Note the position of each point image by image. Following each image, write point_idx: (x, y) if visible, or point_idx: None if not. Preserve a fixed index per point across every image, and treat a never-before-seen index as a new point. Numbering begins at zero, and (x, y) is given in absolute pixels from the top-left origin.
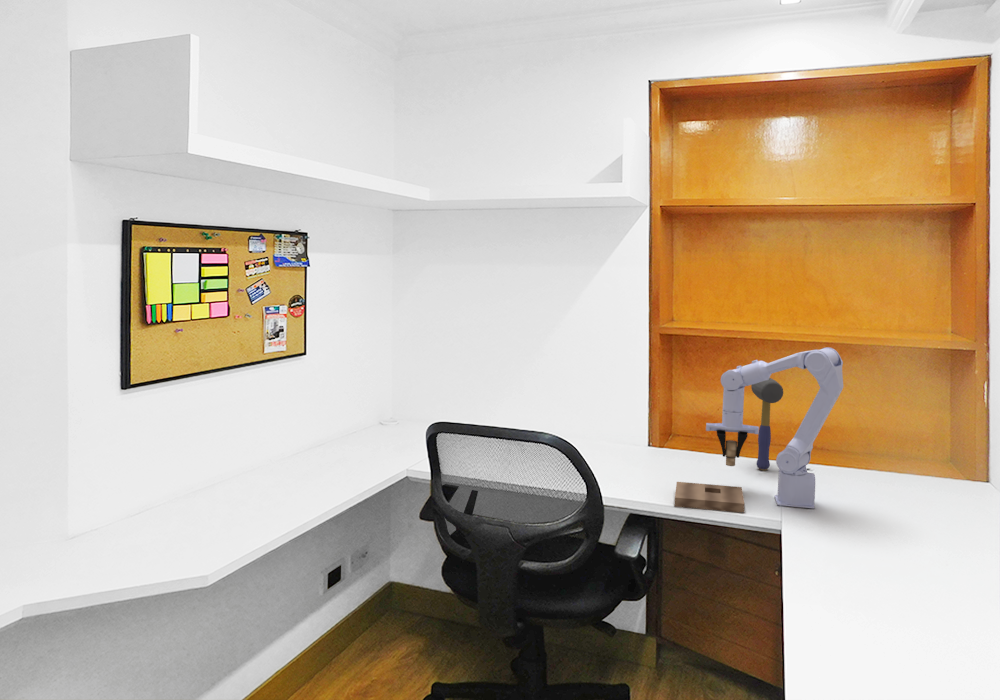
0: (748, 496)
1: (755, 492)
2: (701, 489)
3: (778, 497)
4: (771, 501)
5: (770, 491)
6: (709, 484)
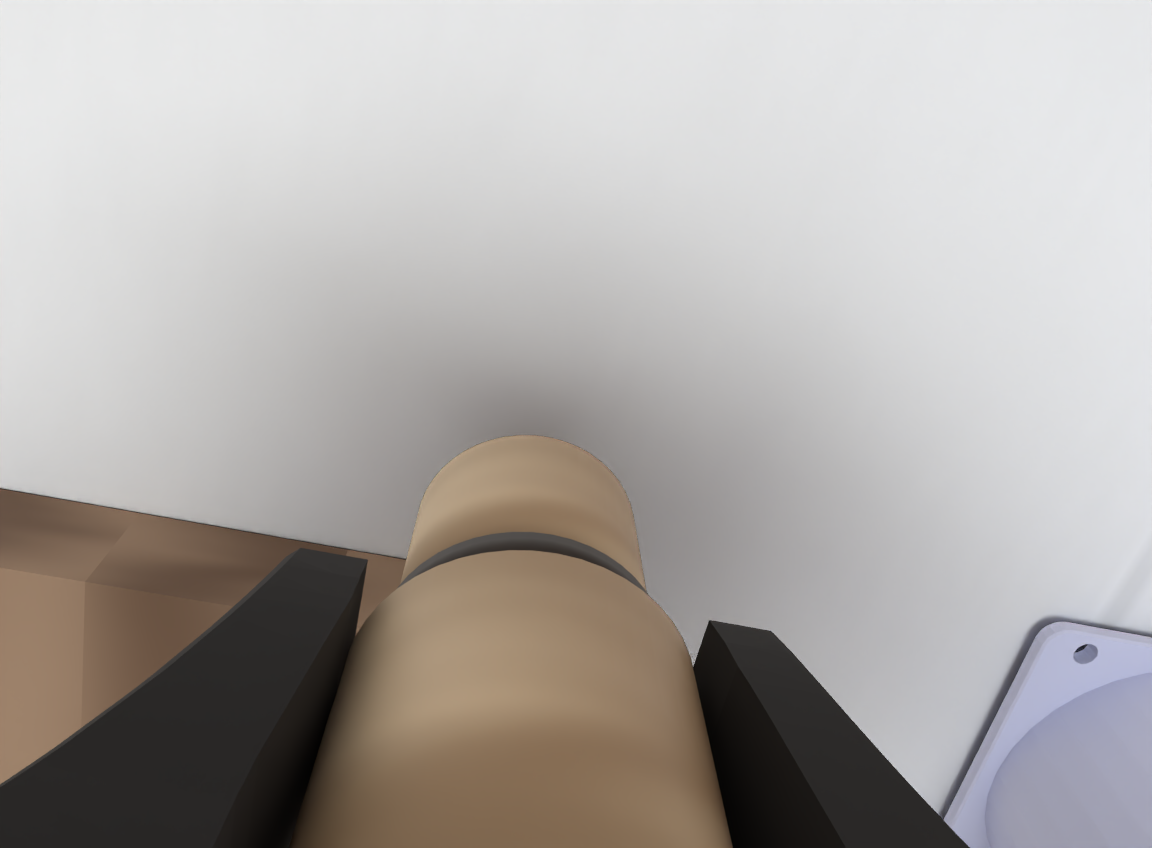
0: (710, 614)
1: (874, 452)
2: None
3: (1003, 833)
4: (919, 751)
5: (1116, 392)
6: (157, 598)
